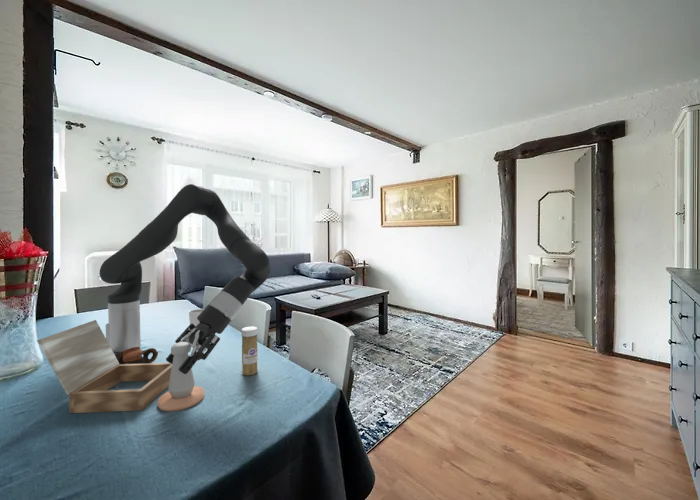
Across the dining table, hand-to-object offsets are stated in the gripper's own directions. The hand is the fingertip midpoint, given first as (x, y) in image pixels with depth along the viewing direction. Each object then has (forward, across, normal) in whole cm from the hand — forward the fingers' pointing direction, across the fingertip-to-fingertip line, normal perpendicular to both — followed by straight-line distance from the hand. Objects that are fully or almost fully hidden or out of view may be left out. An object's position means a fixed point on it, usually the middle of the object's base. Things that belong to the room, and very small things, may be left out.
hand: (175, 367), depth 72 cm
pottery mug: (+8, -28, +5) cm, 30 cm away
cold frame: (+12, -16, 0) cm, 20 cm away
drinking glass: (-12, -49, +24) cm, 56 cm away
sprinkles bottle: (-8, -1, +21) cm, 22 cm away
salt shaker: (+4, 0, +7) cm, 8 cm away
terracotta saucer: (+5, 0, +7) cm, 9 cm away
